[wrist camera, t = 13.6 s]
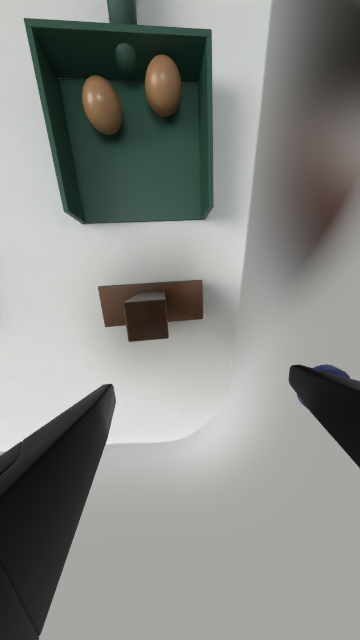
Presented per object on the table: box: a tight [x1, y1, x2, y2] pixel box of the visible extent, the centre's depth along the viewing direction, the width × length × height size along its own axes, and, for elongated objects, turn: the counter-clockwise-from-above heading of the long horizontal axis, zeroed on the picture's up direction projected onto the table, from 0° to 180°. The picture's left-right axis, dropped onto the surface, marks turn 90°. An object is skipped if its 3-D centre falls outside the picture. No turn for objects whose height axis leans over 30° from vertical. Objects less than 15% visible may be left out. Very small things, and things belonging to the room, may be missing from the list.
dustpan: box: [24, 0, 213, 224], centre depth 13 cm, size 20×13×3 cm, turn 4°
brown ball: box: [145, 54, 182, 117], centre depth 14 cm, size 3×3×3 cm
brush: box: [98, 280, 203, 342], centre depth 15 cm, size 10×4×10 cm, turn 94°
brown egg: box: [82, 75, 122, 135], centre depth 14 cm, size 3×3×3 cm
